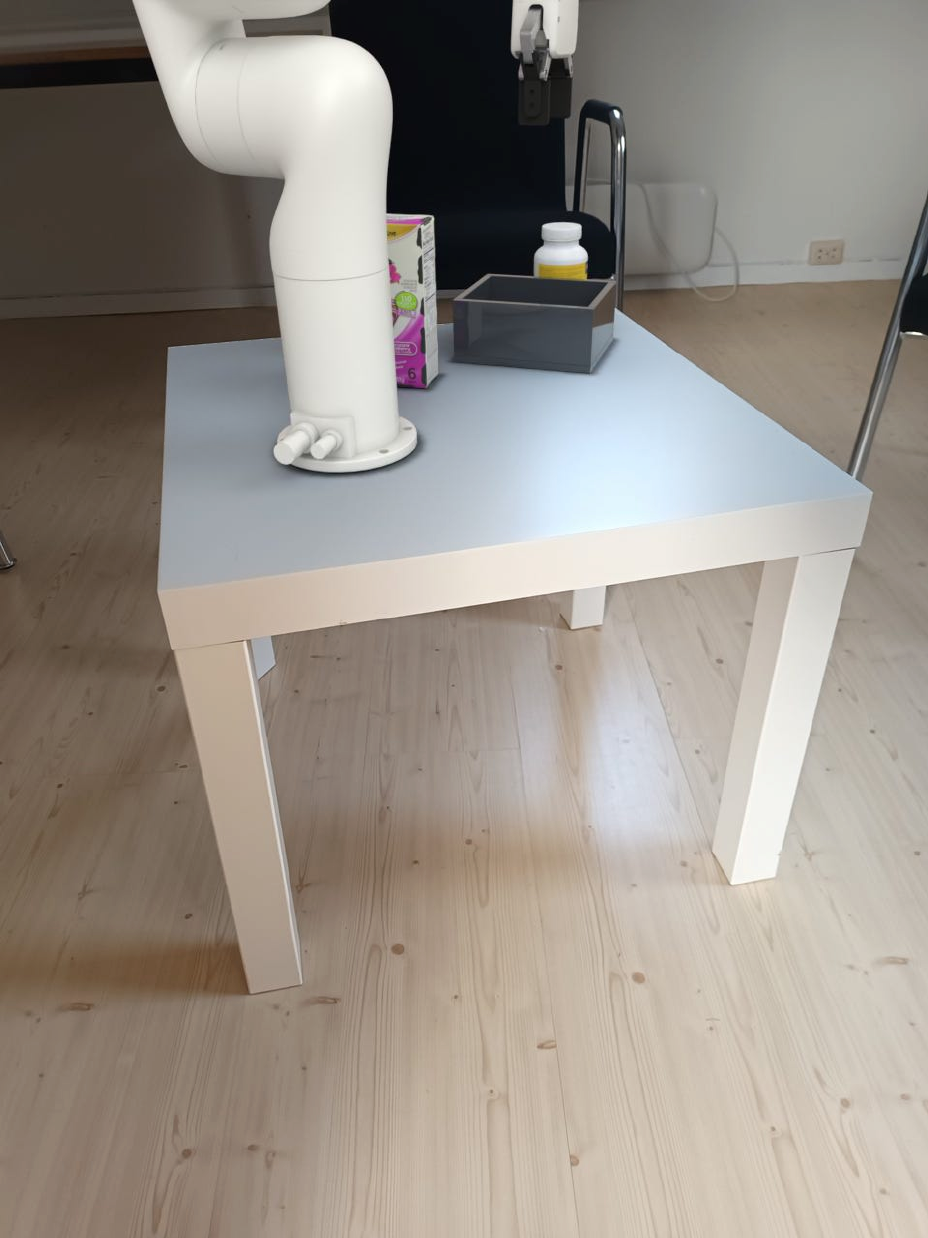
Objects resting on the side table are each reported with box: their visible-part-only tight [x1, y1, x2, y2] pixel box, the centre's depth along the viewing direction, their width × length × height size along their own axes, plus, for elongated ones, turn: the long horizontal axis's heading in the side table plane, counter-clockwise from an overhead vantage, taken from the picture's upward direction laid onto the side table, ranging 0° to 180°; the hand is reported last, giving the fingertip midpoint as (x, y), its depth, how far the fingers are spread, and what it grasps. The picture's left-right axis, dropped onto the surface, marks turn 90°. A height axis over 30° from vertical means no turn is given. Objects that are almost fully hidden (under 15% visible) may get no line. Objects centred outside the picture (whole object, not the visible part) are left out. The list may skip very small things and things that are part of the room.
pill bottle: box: [533, 221, 589, 279], centre depth 112 cm, size 6×6×12 cm
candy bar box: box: [386, 213, 440, 389], centre depth 95 cm, size 11×5×16 cm, turn 76°
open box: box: [452, 273, 617, 374], centre depth 105 cm, size 13×16×7 cm
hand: (545, 121), depth 100 cm, fingers open, 9 cm apart
